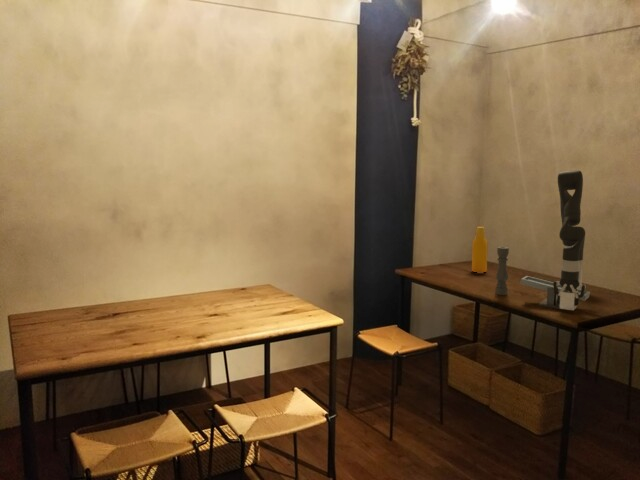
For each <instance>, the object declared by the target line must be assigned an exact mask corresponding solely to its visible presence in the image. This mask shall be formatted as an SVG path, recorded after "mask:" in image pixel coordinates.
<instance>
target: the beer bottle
mask: <svg viewBox="0 0 640 480" xmlns="http://www.w3.org/2000/svg"><path fill="white" fill-rule="evenodd" d="M475 234H476V235H475V237H474V239H473V241H472V250H471V255H472V257H471V272H472V271H474V272H486V271H487V272H488V241H487V239H486V236H485V235H486V232H485V227H484V226H477V228H476V233H475ZM487 272H486V273H487Z"/></svg>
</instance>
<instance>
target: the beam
mask: <svg viewBox="0 0 640 480" xmlns="http://www.w3.org/2000/svg"><path fill="white" fill-rule="evenodd" d="M553 282H554V281H549V280H546V279H545V280H544V279H541V278H537V277H533V276H529V275H526V276H524V277H522V278H521V279H520V284H519V285H523V286H527V287H530V288H534V289H538V290H542V291H544V292H547V289H548V288H552V289H554V286H553ZM561 289H562V286H561V285H560V284H559V285H558V292H560V290H561ZM577 290H578V293H579V295H580V293H581V289H577ZM590 294H591V292H590V291H588V290H585V293H584V296H583V297H582V298H579V301H583V302H586V300H587V299H589V298H590Z"/></svg>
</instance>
